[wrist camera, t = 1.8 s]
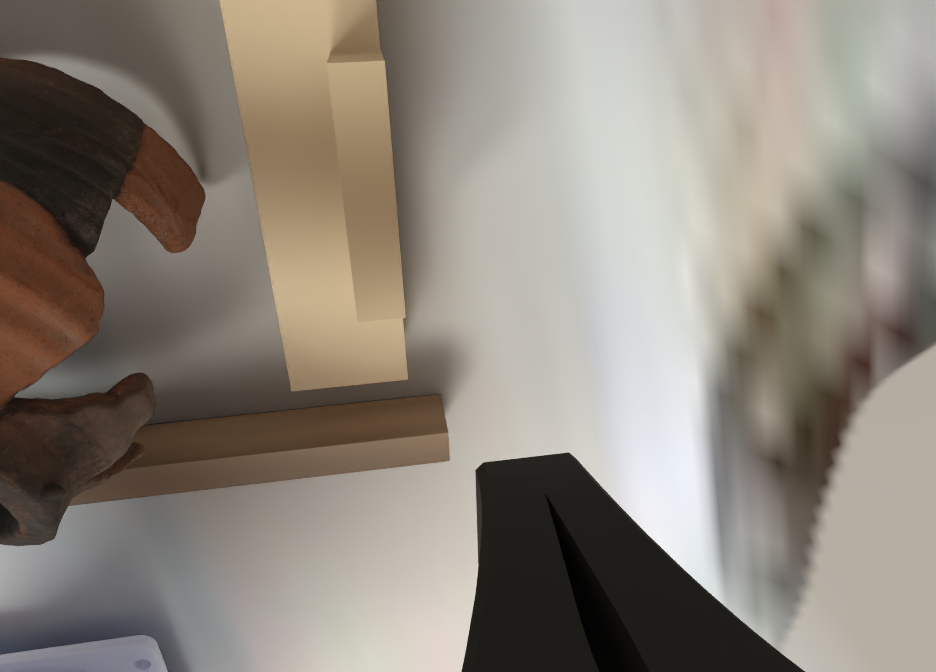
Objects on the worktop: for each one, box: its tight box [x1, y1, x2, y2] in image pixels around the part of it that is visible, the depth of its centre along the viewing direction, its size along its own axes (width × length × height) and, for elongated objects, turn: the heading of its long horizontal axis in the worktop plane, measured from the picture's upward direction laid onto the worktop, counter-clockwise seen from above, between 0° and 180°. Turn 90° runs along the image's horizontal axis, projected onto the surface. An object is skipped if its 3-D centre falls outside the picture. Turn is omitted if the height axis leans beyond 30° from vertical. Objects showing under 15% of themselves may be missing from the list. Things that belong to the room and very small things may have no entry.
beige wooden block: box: [220, 0, 408, 392], centre depth 14 cm, size 11×3×4 cm, turn 2°
